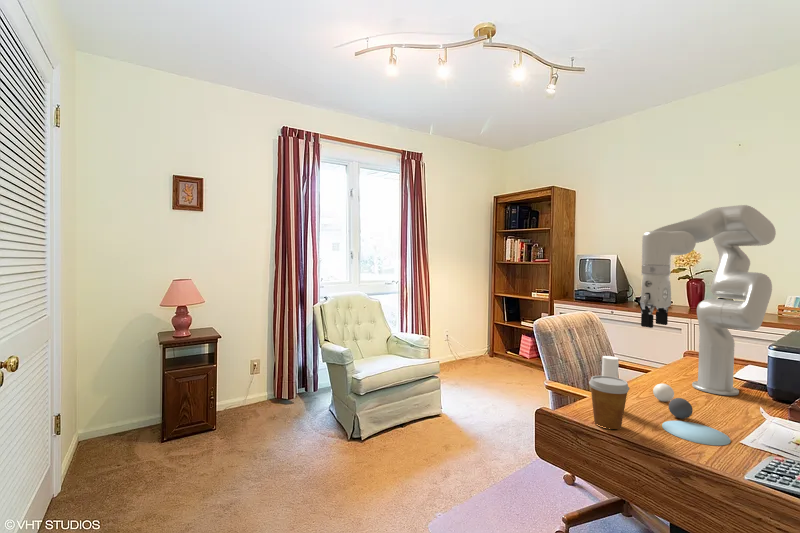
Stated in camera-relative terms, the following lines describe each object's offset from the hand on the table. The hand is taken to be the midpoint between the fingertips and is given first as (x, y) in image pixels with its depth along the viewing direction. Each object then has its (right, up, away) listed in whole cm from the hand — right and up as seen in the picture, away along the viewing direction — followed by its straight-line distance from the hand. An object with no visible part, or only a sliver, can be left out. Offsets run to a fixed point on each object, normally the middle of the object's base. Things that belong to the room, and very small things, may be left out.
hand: (654, 325), depth 122 cm
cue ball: (+4, -21, +1) cm, 22 cm away
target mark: (-4, -24, -21) cm, 33 cm away
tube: (-17, -24, -5) cm, 30 cm away
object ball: (0, -21, -12) cm, 25 cm away
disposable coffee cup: (-24, -24, -18) cm, 38 cm away
